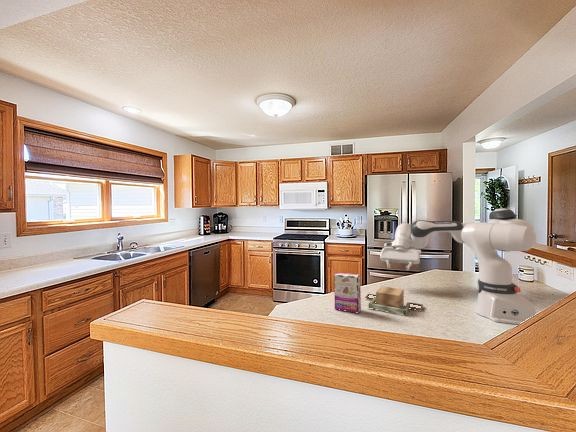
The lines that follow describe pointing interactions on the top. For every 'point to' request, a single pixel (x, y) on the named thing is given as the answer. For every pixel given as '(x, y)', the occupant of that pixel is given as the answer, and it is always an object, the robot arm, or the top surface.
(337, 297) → the candy bar box
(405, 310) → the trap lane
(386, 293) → the block
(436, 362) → the top surface
